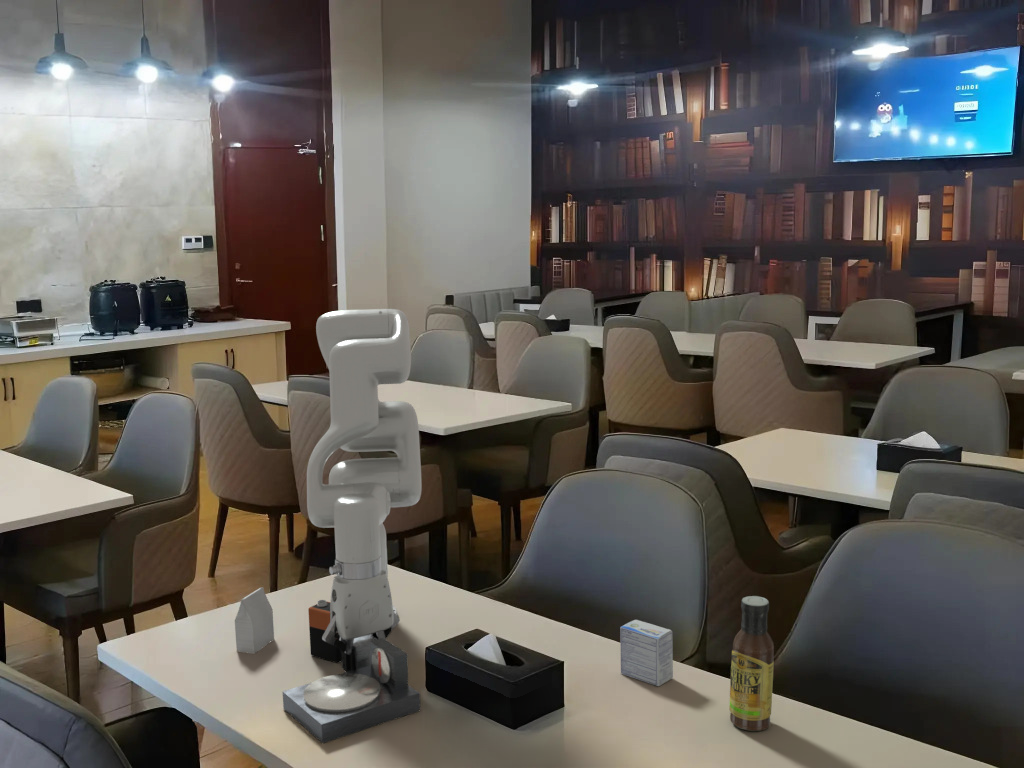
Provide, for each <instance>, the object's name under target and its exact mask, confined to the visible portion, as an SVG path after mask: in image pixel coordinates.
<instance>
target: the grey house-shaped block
mask: <svg viewBox="0 0 1024 768" xmlns="http://www.w3.org/2000/svg"><path fill="white" fill-rule="evenodd" d="M273 613H274V612H273V608H272V605H271V603H270V601H269V598H268V597H267V594H266V592H265V590H264V587H259V588H258V589H256V590H254V591H253V592H251V593H249V594H248V595H246V596H245V597H243V598H242V599H241V600H240V605H239V608H238V611H237V613H236V617H235V619H234V629H235V630H234V631H235V644H236V652H237V651H240V652H239V653H245V652H248V653H247V654H252V653H255V652H256V653H257V651H258V650H259V651H260V650H262V649H263V648H264V647H266V646H267V645H269V644H270V643H271V642H273V641H274V640H275V632H274V631H275V627H274V614H273ZM273 639H274V640H273ZM272 640H273V641H272ZM270 641H271V642H270ZM269 642H270V643H269ZM268 643H269V644H268ZM266 644H267V645H266ZM265 645H266V646H265ZM262 647H263V648H262ZM261 648H262V649H261ZM259 651H258V652H259ZM256 653H255V654H256Z"/></svg>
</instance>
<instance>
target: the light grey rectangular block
mask: <svg viewBox="0 0 1024 768" xmlns="http://www.w3.org/2000/svg"><path fill="white" fill-rule="evenodd" d="M373 640H377V639H376V638H375V637H373V636H372V635H371V634H369V635H366V636H362V637H358V638H355V639H354V642H353V648H352V653H354V654H355V670H356V669H360V668H363V667H366V666H370V665H371V659H370V641H373Z"/></svg>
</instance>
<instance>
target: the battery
mask: <svg viewBox="0 0 1024 768" xmlns="http://www.w3.org/2000/svg"><path fill="white" fill-rule="evenodd" d="M330 602H331V601H327V600H326V599H318V600H317V604H314V605H312V606H310V607H309V608H308V626H309V627H308V628H309V644H310V645H309V647H310V656H312V657H315V656H316V657H315V658H319V657H320V658H319V659H322V658H323V660H326V659H327V660H326V661H329V660H330V662H333V661H334V663H337V662H339V663H341V662H342V652H341V650H340V649H338V648H337V647H336V646H333V645H331V644H329V643H327V642H325V641H324V640H322V636H323V634H324V633H325V631H326V629H327V627H328V625H329V623H330ZM334 637H335V638H337V639H340V636H339V634H338V633H335V635H334ZM340 661H341V662H340Z"/></svg>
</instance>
